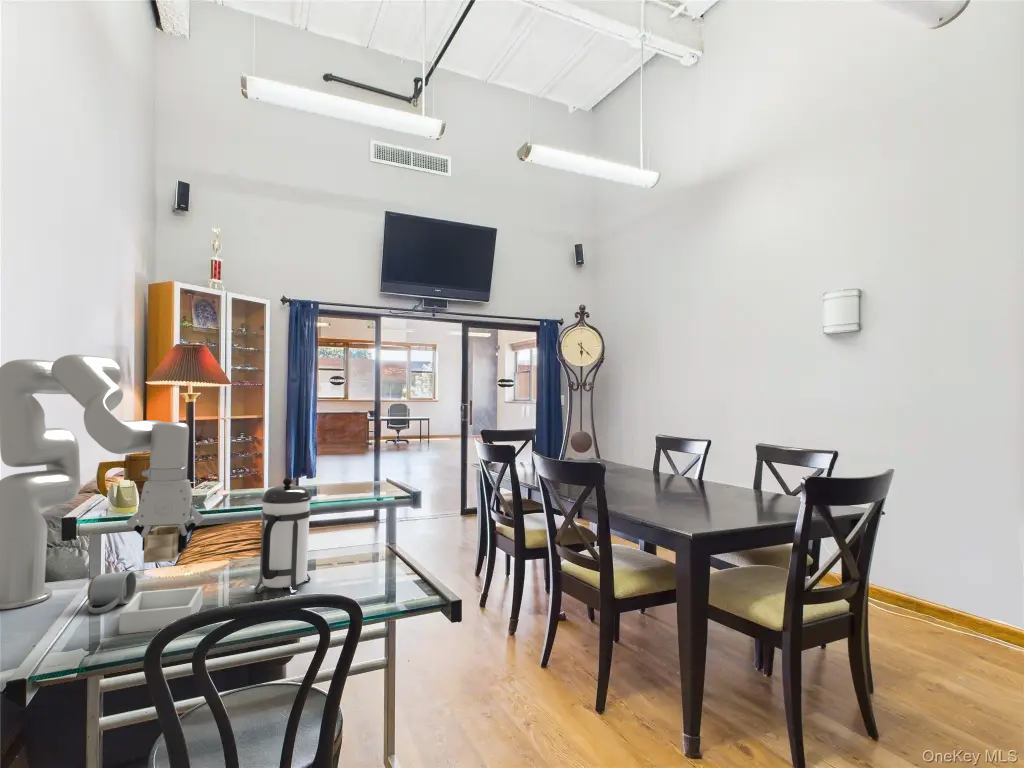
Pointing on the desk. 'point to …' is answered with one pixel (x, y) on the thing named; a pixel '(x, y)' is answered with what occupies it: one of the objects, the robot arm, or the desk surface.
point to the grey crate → (159, 609)
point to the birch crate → (161, 544)
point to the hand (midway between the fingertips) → (164, 551)
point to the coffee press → (284, 536)
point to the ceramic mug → (111, 590)
